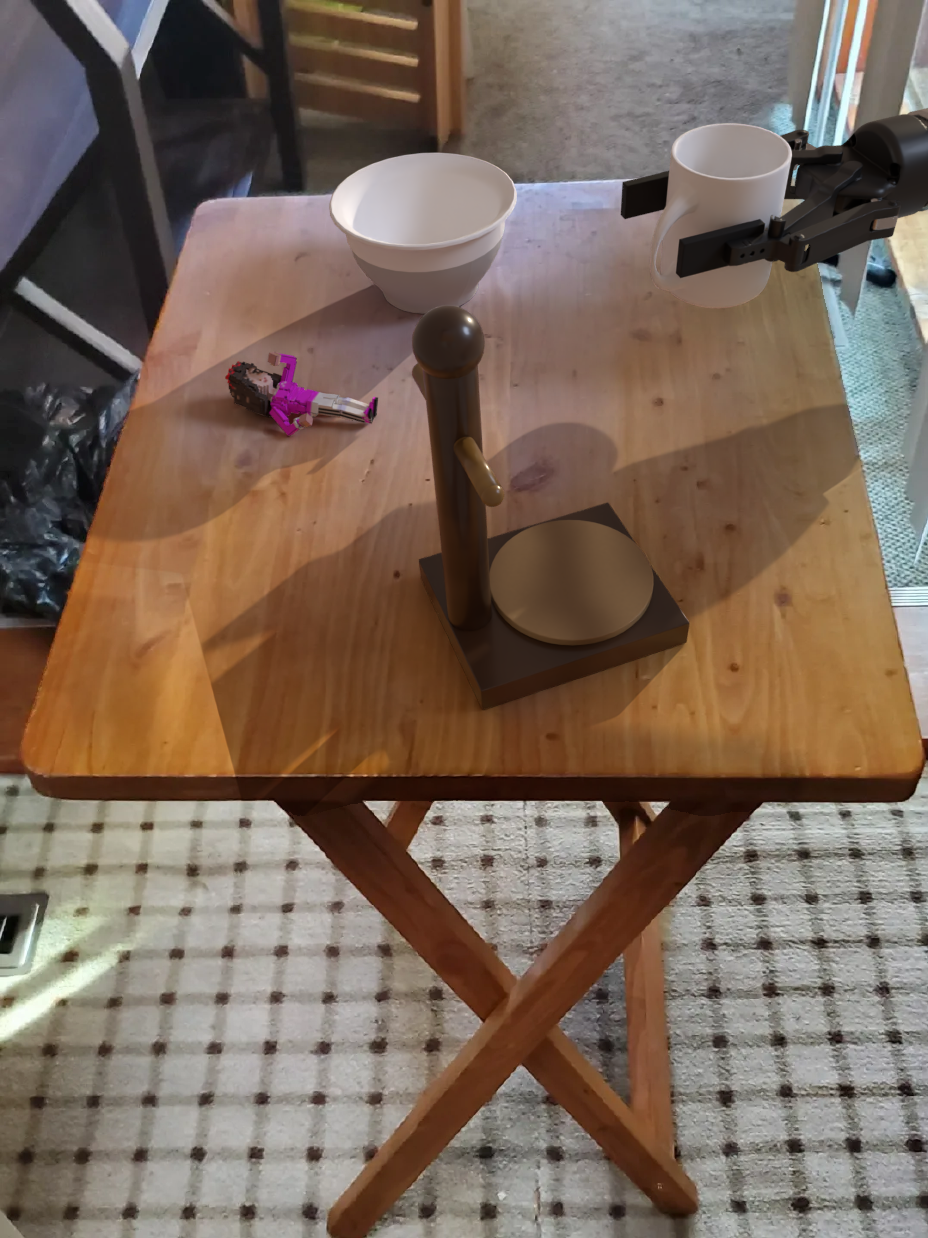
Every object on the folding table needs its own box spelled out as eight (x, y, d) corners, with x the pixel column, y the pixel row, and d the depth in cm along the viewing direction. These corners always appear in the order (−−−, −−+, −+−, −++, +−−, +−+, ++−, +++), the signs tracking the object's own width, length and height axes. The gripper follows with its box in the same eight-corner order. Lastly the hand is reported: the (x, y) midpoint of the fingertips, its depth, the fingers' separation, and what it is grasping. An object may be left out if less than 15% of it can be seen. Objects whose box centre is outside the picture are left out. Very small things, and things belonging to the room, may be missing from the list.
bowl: (384, 229, 104) (374, 142, 98) (541, 252, 100) (541, 163, 94) (313, 321, 95) (296, 231, 88) (483, 351, 90) (479, 259, 84)
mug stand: (606, 521, 76) (626, 196, 58) (687, 644, 69) (740, 314, 50) (415, 579, 74) (373, 258, 55) (478, 713, 66) (453, 392, 48)
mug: (605, 296, 86) (612, 166, 78) (710, 240, 90) (726, 111, 82) (685, 343, 81) (701, 210, 73) (791, 282, 86) (817, 150, 78)
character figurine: (382, 409, 88) (241, 382, 89) (382, 359, 84) (234, 331, 85) (364, 456, 84) (217, 428, 85) (363, 406, 80) (209, 377, 81)
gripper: (983, 274, 81) (714, 347, 77) (825, 153, 94) (589, 211, 90) (1016, 177, 75) (728, 251, 71) (844, 64, 89) (592, 121, 85)
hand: (650, 228), depth 81 cm, fingers closed on mug, 9 cm apart
